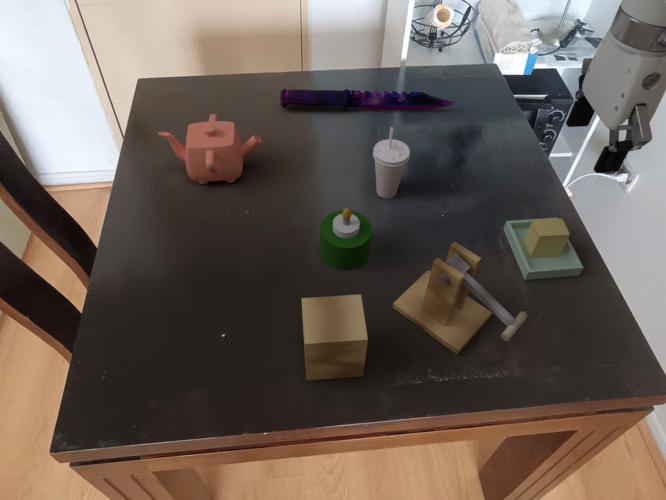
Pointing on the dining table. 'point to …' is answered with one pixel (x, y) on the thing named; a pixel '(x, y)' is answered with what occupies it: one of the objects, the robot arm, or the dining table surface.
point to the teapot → (213, 150)
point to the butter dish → (540, 266)
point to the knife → (362, 99)
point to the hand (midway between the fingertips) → (590, 147)
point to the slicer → (445, 302)
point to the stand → (334, 337)
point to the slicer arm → (488, 299)
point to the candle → (345, 239)
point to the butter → (546, 238)
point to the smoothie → (389, 165)
